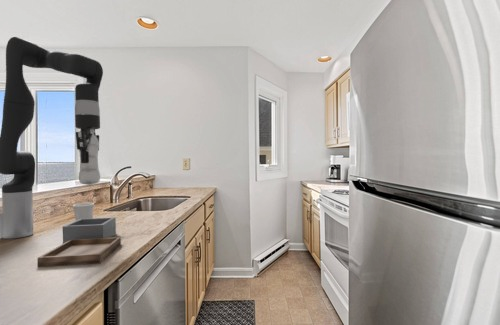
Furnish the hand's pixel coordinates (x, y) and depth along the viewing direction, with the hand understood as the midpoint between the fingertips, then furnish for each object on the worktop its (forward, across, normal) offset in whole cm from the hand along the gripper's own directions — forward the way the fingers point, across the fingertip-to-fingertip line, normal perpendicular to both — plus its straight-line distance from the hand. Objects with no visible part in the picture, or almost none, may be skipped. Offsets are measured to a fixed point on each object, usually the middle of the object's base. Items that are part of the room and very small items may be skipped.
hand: (89, 162), depth 100 cm
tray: (+28, +13, +3) cm, 31 cm away
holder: (+28, -5, -2) cm, 29 cm away
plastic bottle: (+8, 0, 0) cm, 8 cm away
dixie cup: (+28, -28, -14) cm, 42 cm away
